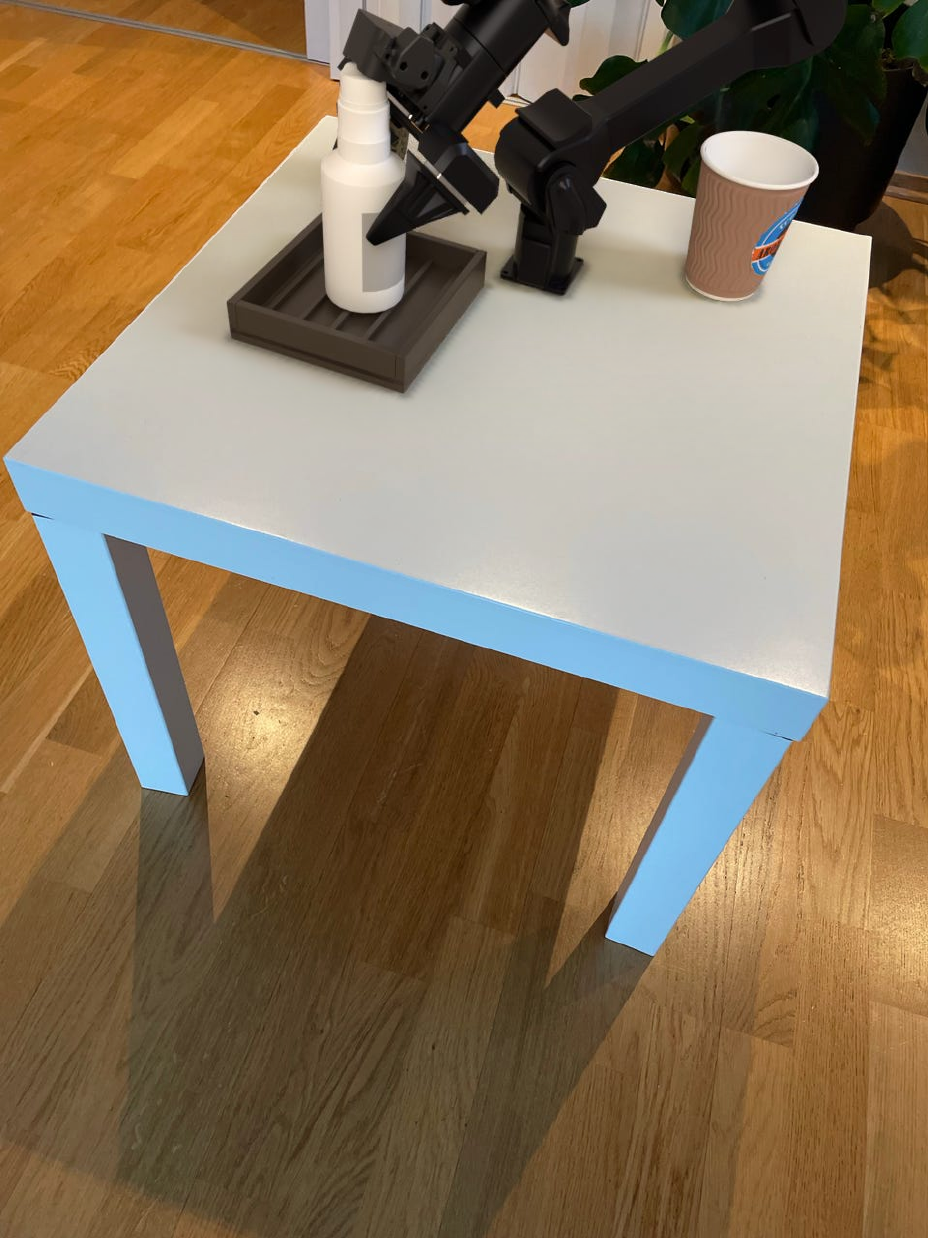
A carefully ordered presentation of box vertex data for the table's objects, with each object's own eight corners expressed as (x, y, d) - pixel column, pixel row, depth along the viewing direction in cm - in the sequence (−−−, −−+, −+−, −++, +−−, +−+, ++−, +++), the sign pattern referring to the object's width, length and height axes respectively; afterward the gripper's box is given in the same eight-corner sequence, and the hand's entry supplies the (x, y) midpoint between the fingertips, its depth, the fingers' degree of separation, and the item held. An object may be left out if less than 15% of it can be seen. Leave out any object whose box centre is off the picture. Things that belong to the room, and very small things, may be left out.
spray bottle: (402, 317, 80) (409, 93, 66) (322, 312, 80) (311, 86, 66) (405, 273, 85) (411, 54, 71) (328, 268, 84) (320, 47, 70)
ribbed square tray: (329, 240, 91) (328, 205, 88) (484, 286, 88) (487, 251, 85) (231, 338, 80) (226, 301, 77) (403, 393, 77) (404, 357, 74)
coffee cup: (753, 325, 87) (799, 198, 78) (651, 287, 90) (683, 161, 80) (787, 276, 93) (833, 152, 84) (690, 242, 96) (724, 119, 86)
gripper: (359, -77, 70) (232, 99, 75) (476, 17, 60) (321, 212, 65) (447, 31, 79) (328, 182, 83) (562, 128, 69) (419, 293, 74)
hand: (346, 213), depth 76 cm, fingers open, 9 cm apart
